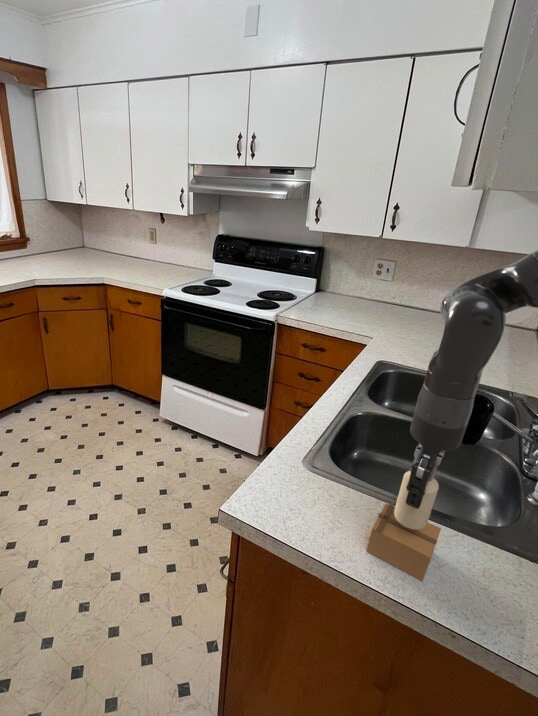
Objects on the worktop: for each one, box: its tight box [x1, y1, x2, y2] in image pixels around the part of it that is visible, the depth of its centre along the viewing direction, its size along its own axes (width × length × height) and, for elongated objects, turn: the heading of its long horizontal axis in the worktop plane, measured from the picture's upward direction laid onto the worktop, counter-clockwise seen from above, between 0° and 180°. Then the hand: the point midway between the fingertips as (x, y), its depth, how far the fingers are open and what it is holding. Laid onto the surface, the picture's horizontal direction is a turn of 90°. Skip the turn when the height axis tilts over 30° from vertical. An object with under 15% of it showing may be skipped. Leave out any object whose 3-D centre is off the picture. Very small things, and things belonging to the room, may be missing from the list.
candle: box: [394, 470, 440, 530], centre depth 74 cm, size 6×6×10 cm
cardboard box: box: [366, 502, 442, 582], centre depth 79 cm, size 10×8×6 cm
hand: (417, 494), depth 74 cm, fingers closed on candle, 5 cm apart
